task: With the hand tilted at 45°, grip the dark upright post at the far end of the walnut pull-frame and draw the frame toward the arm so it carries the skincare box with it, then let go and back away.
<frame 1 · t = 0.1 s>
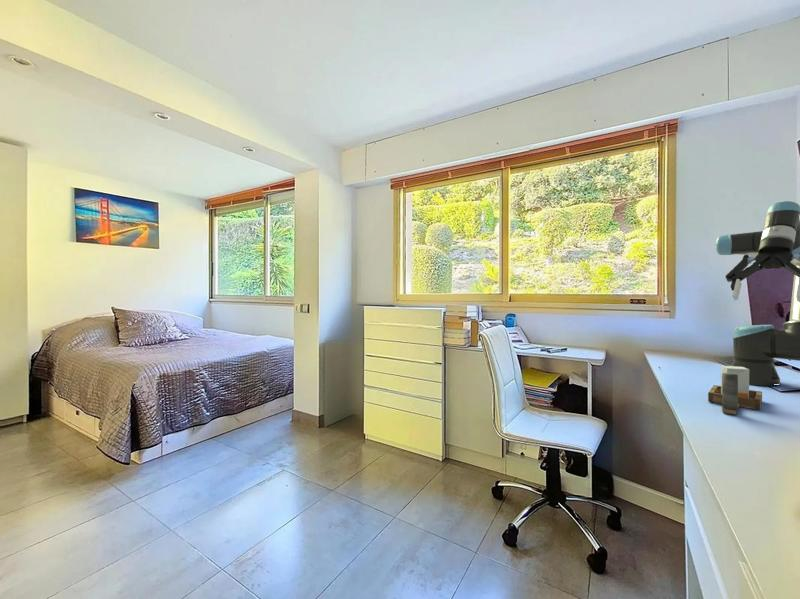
hand: (765, 298, 107), 36 cm above the table, tool tilted 35°, fingers open, 13 cm apart
pull frame: (733, 386, 117), point 6 cm above the table, slide at 0.0 cm
skincare box: (735, 402, 120), resting in pull frame
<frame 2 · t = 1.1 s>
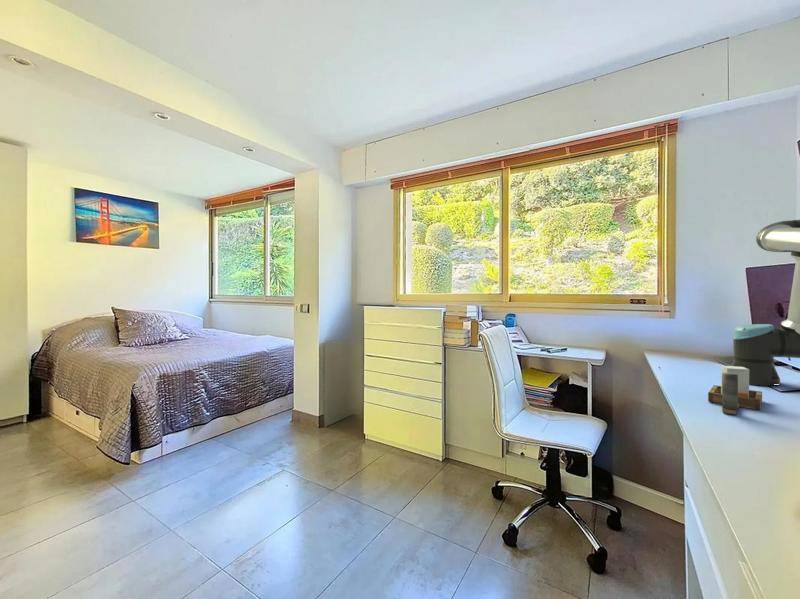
nothing on the table moved.
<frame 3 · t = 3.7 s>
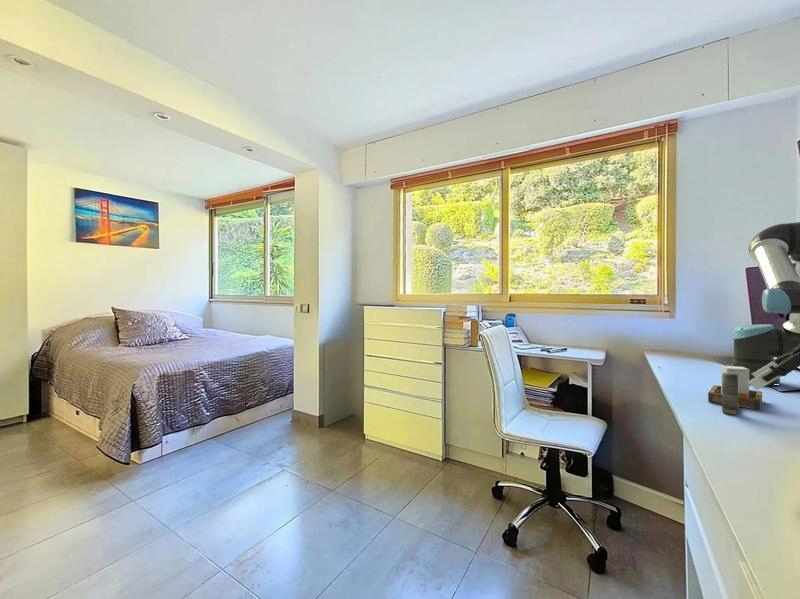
hand: (754, 381, 105), 11 cm above the table, tool tilted 45°, fingers open, 13 cm apart
nothing on the table moved.
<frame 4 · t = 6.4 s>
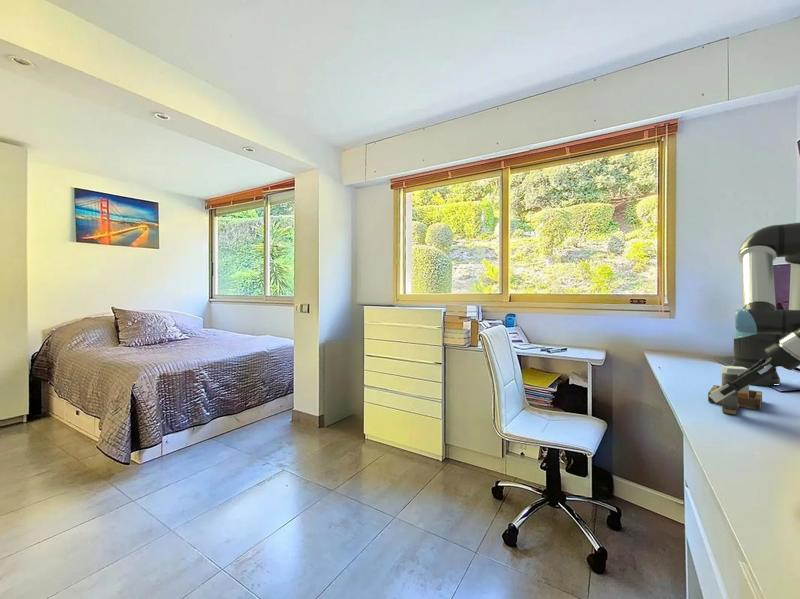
hand: (713, 397, 113), 4 cm above the table, tool tilted 45°, fingers closed on pull frame, 4 cm apart
pull frame: (733, 386, 117), point 6 cm above the table, slide at 0.0 cm, touching gripper
everything else where it was.
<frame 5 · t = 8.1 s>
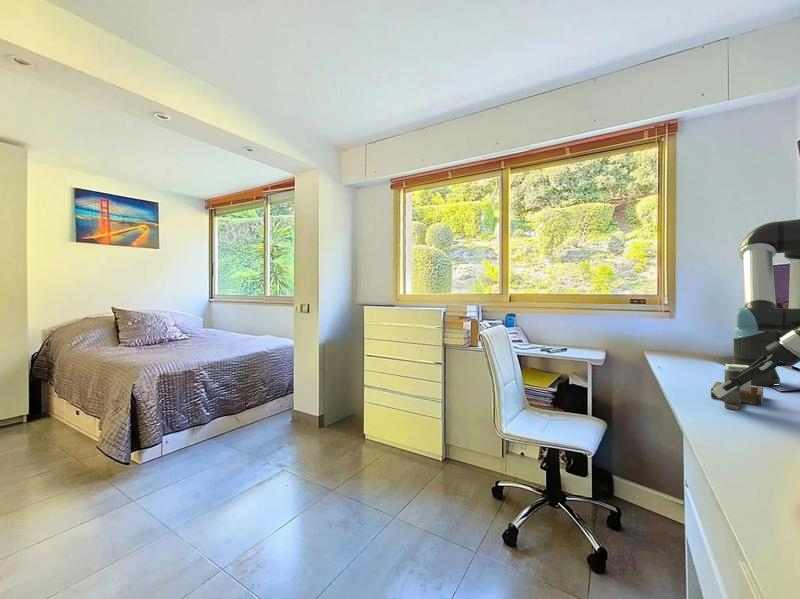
hand: (716, 392, 117), 4 cm above the table, tool tilted 45°, fingers closed on pull frame, 4 cm apart
pull frame: (735, 382, 121), point 6 cm above the table, slide at 6.4 cm, touching gripper, skincare box
skincare box: (738, 400, 123), resting in pull frame
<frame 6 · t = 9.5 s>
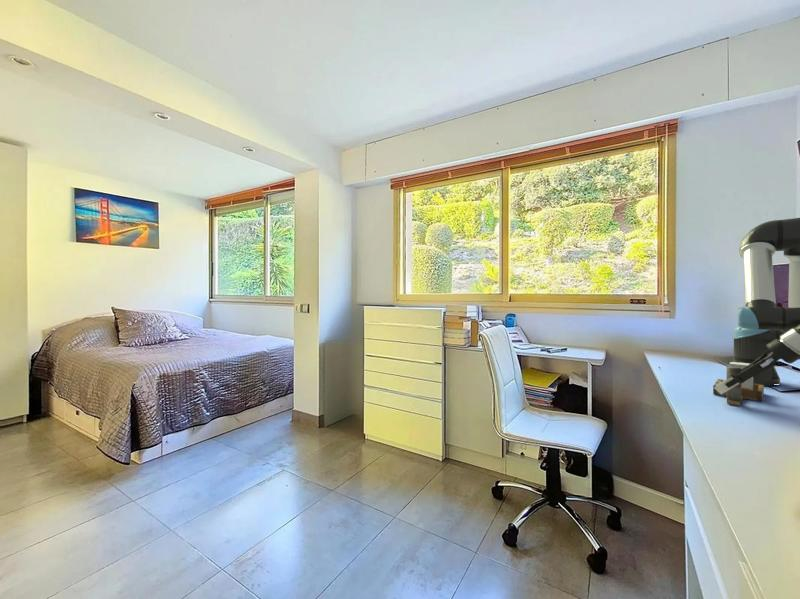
hand: (718, 389, 121), 4 cm above the table, tool tilted 45°, fingers closed on pull frame, 4 cm apart
pull frame: (736, 379, 125), point 6 cm above the table, slide at 11.9 cm, touching gripper, skincare box
skincare box: (741, 397, 126), resting in pull frame
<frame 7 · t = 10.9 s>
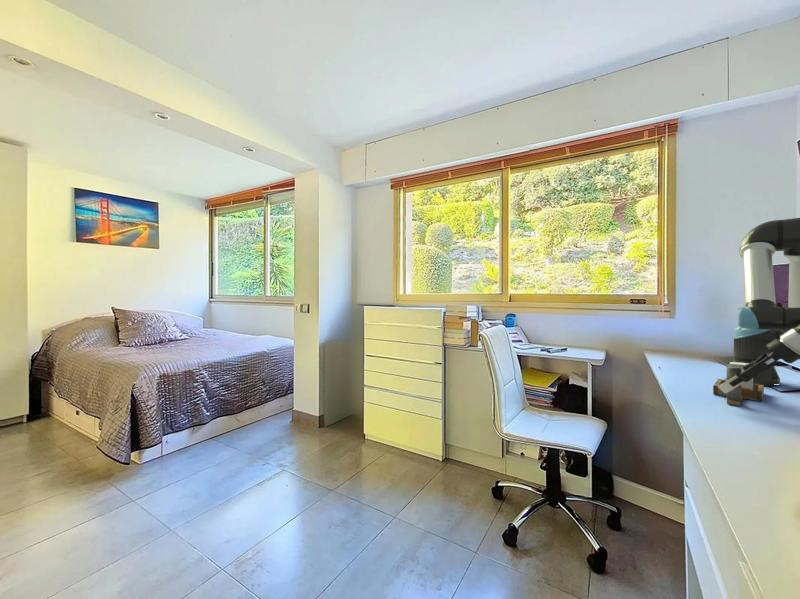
hand: (724, 386, 120), 6 cm above the table, tool tilted 45°, fingers open, 13 cm apart
pull frame: (736, 379, 125), point 6 cm above the table, slide at 11.9 cm
skincare box: (741, 397, 126), resting in pull frame, touching gripper, hand
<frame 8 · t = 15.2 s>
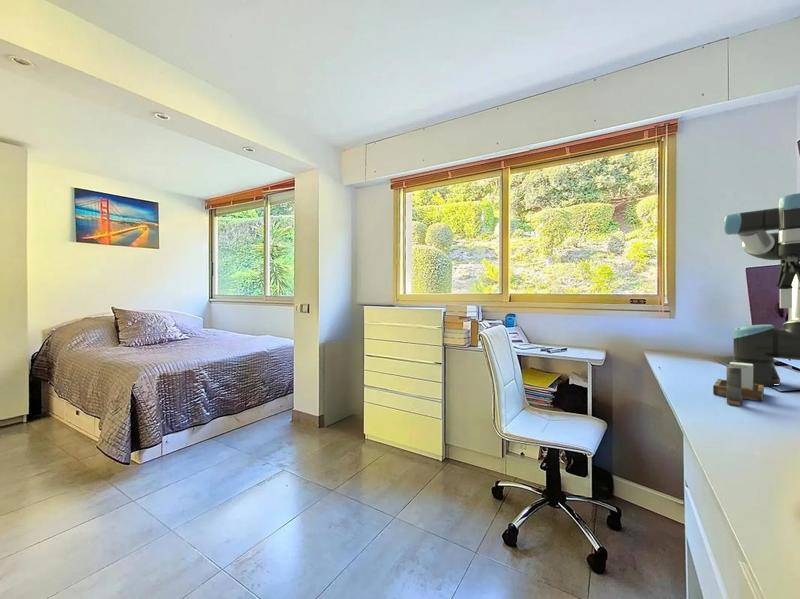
hand: (795, 309, 113), 32 cm above the table, tool pointing down, fingers open, 13 cm apart
skincare box: (741, 397, 126), resting in pull frame
everything else where it was.
at the end: pull frame slide at 11.9 cm; skincare box inside the target area (2.8 cm from its centre), resting in pull frame; skincare box tilted 0° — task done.
